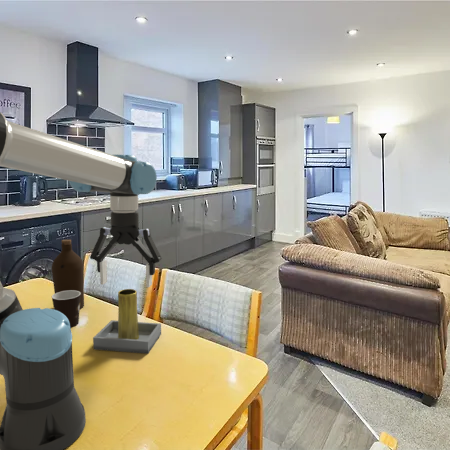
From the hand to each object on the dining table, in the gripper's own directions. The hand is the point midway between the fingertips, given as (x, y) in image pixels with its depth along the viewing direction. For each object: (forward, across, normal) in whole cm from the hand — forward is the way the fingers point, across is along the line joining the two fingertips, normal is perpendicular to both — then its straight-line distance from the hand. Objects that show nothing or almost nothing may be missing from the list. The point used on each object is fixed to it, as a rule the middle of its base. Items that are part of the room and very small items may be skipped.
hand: (126, 284), depth 106 cm
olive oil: (+18, +31, -22) cm, 42 cm away
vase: (+17, 0, 0) cm, 17 cm away
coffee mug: (+18, +24, -10) cm, 31 cm away
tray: (+18, 0, 0) cm, 18 cm away
